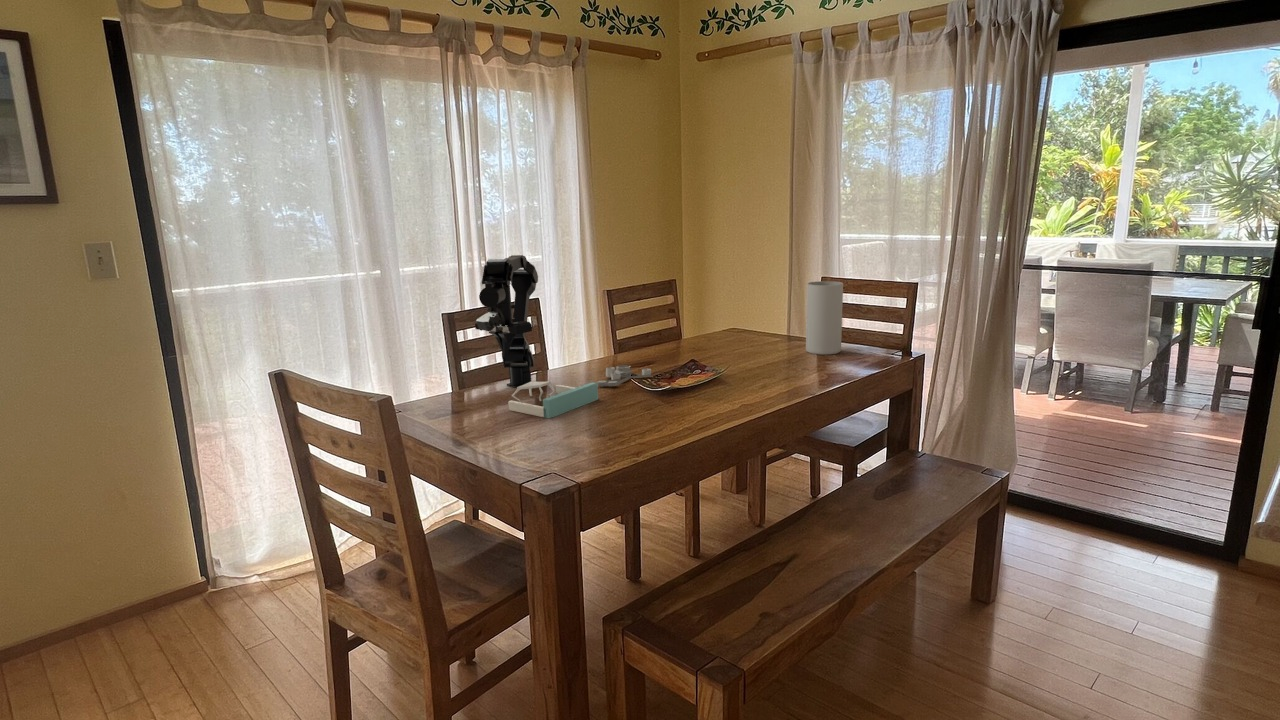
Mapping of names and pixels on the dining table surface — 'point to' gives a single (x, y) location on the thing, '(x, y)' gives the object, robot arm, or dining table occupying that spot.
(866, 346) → the dining table surface
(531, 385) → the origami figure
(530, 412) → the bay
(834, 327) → the cylinder vase
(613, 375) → the pulley system
